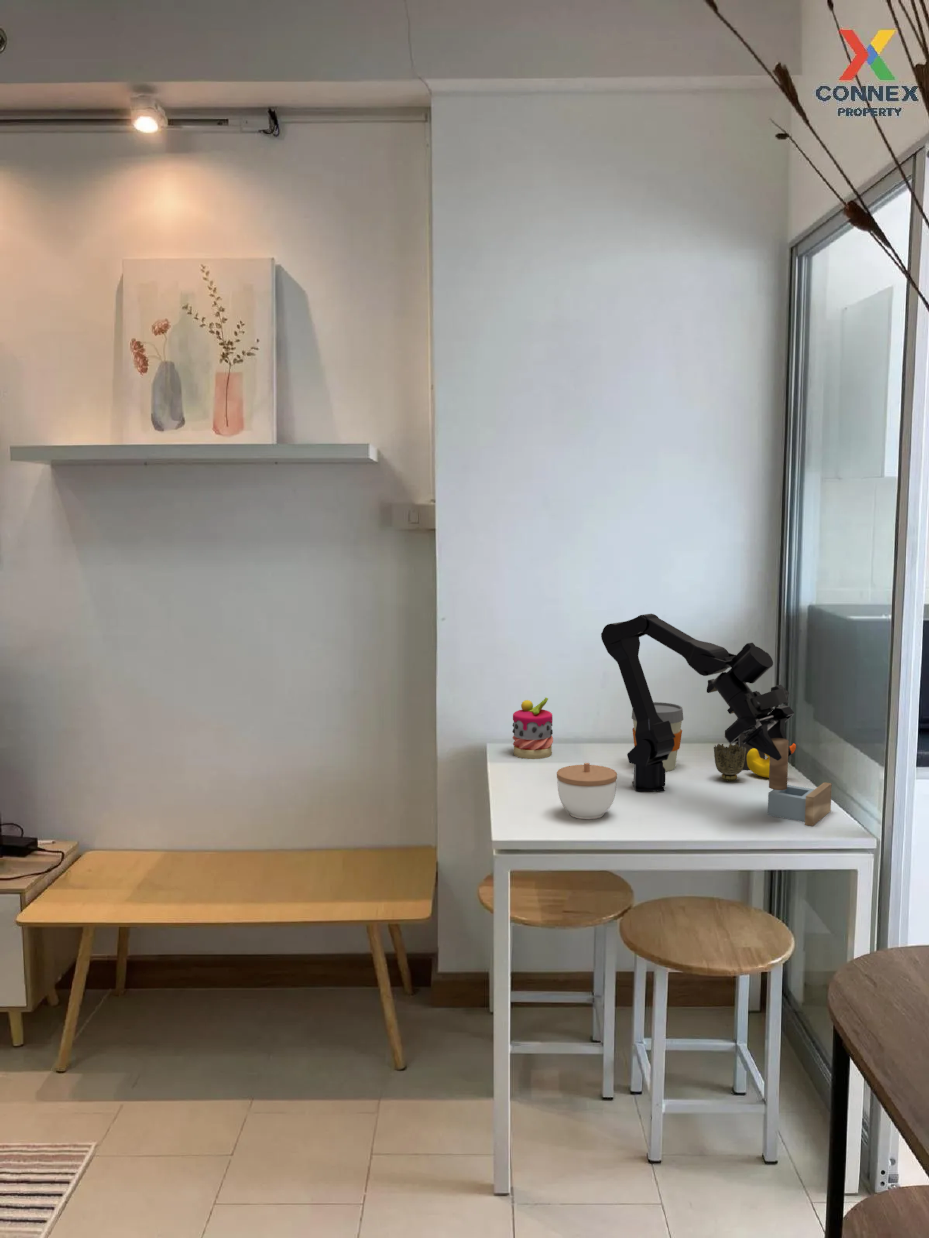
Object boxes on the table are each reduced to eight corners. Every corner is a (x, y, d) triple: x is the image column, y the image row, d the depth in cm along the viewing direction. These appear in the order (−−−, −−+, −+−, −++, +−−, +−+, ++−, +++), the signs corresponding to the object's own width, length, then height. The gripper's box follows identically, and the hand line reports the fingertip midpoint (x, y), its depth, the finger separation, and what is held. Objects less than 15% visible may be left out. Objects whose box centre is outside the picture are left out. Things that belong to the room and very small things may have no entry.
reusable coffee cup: (632, 773, 249) (632, 712, 247) (629, 759, 261) (630, 701, 259) (684, 774, 248) (686, 713, 246) (680, 760, 260) (681, 702, 258)
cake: (512, 759, 263) (512, 701, 261) (512, 749, 273) (512, 693, 271) (553, 759, 262) (553, 701, 261) (551, 749, 273) (551, 693, 271)
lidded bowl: (544, 815, 217) (544, 764, 216) (578, 801, 227) (578, 752, 226) (595, 827, 209) (595, 774, 208) (628, 812, 219) (628, 761, 217)
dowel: (774, 790, 210) (775, 742, 209) (765, 785, 213) (766, 738, 212) (790, 789, 211) (792, 741, 209) (781, 784, 214) (782, 737, 213)
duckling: (797, 778, 243) (799, 736, 242) (791, 783, 239) (793, 741, 237) (750, 771, 249) (751, 731, 248) (743, 776, 245) (744, 735, 243)
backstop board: (804, 824, 210) (805, 796, 209) (823, 809, 219) (823, 782, 219) (812, 826, 209) (813, 797, 208) (830, 810, 218) (831, 783, 218)
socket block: (767, 815, 216) (768, 792, 216) (780, 806, 223) (781, 783, 222) (805, 822, 212) (806, 799, 211) (818, 812, 218) (818, 789, 217)
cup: (742, 775, 246) (743, 743, 245) (748, 784, 238) (748, 751, 237) (710, 775, 246) (711, 742, 245) (715, 784, 239) (716, 750, 238)
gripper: (739, 679, 206) (787, 743, 199) (787, 667, 218) (834, 727, 212) (704, 712, 212) (750, 774, 206) (753, 699, 225) (798, 757, 218)
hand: (785, 757), depth 210 cm, fingers closed on dowel, 4 cm apart
